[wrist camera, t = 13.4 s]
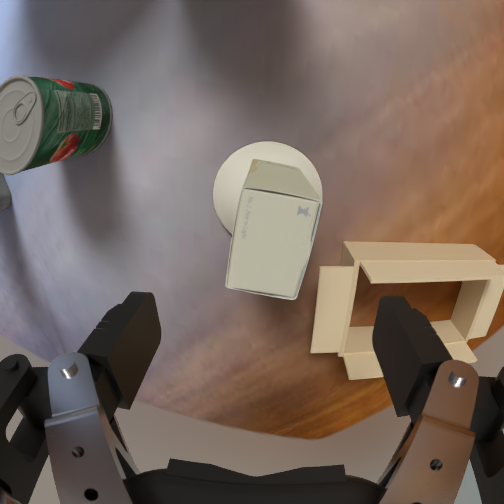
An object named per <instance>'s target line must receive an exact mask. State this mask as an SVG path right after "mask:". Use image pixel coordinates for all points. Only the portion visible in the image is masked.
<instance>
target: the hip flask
mask: <svg viewBox="0 0 504 504" xmlns="http://www.w3.org/2000/svg"><path fill="white" fill-rule="evenodd" d="M10 204H11V192H10V190H9V188H8V185H7V183H6V180H5V178H4V175H3V173H1V172H0V211H1V210H3V209H5V208H8V207H9V206H10Z"/></svg>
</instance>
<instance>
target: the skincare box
mask: <svg viewBox="0 0 504 504" xmlns="http://www.w3.org/2000/svg"><path fill="white" fill-rule="evenodd" d="M322 204H323V202H322V200H321V199H320V197H319V196H318V194H317V193H316V192H315V190H314V189H313V187H312V186H311V184H310V183H309V182H308V180H307V179H306V177H305V176H304V175H303V173H302V172H301V170H300V169H299V168H298V167H294V166H289V165H285V164H281V163H276V162H271V161H265V160H259V159H253V160H252V163H251V166H250V169H249V172H248V174H247V177H246V180H245V182H244V185H243V187H242V189H241V193H240V197H239V201H238V206H237V211H236V216H235V222H234V227H233V233H232V239H231V245H230V252H229V259H228V267H227V274H226V283H225V286H226V287H227V288H231V289H235V290H241V291H245V292H250V293H255V294H260V295H265V296H271V297H277V298H282V299H288V300H295V299H296V298H297V296H298V293H299V290H300V286H301V283H302V280H303V277H304V274H305V270H306V267H307V264H308V260H309V257H310V253H311V249H312V245H313V241H314V238H315V234H316V229H317V225H318V221H319V217H320V212H321V208H322Z"/></svg>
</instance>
